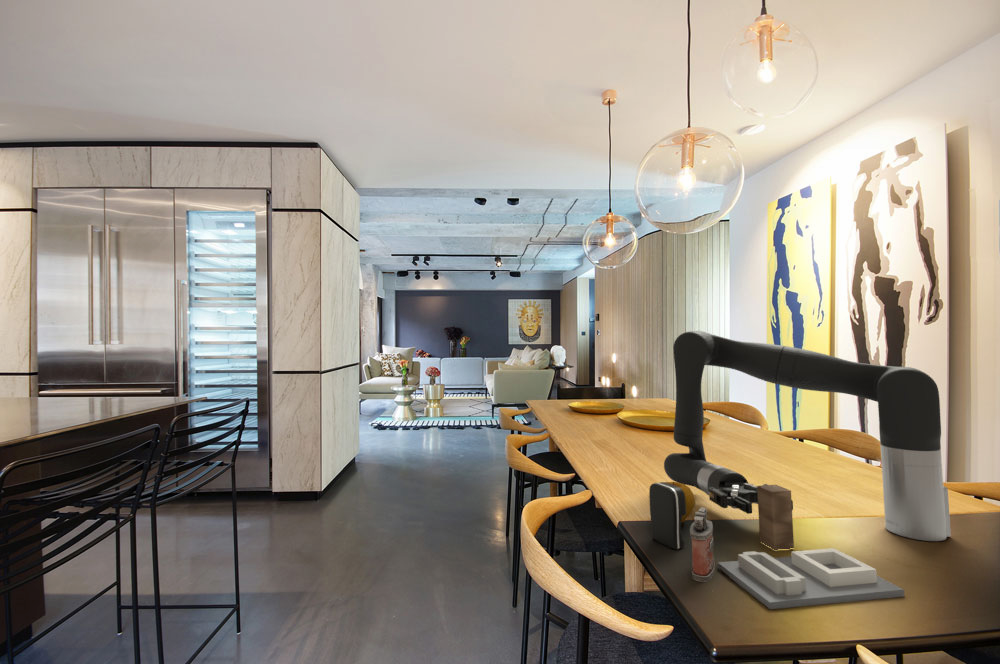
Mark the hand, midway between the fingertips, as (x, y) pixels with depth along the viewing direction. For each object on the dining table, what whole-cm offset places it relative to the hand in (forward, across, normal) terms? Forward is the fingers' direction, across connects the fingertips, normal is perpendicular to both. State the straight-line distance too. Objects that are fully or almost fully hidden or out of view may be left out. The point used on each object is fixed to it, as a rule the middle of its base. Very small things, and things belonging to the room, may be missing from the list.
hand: (771, 507), depth 90 cm
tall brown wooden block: (+1, 0, +7) cm, 7 cm away
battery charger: (-4, -19, +7) cm, 21 cm away
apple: (-14, -13, +7) cm, 20 cm away
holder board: (+14, -5, +7) cm, 17 cm away
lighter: (+8, -19, +7) cm, 22 cm away
